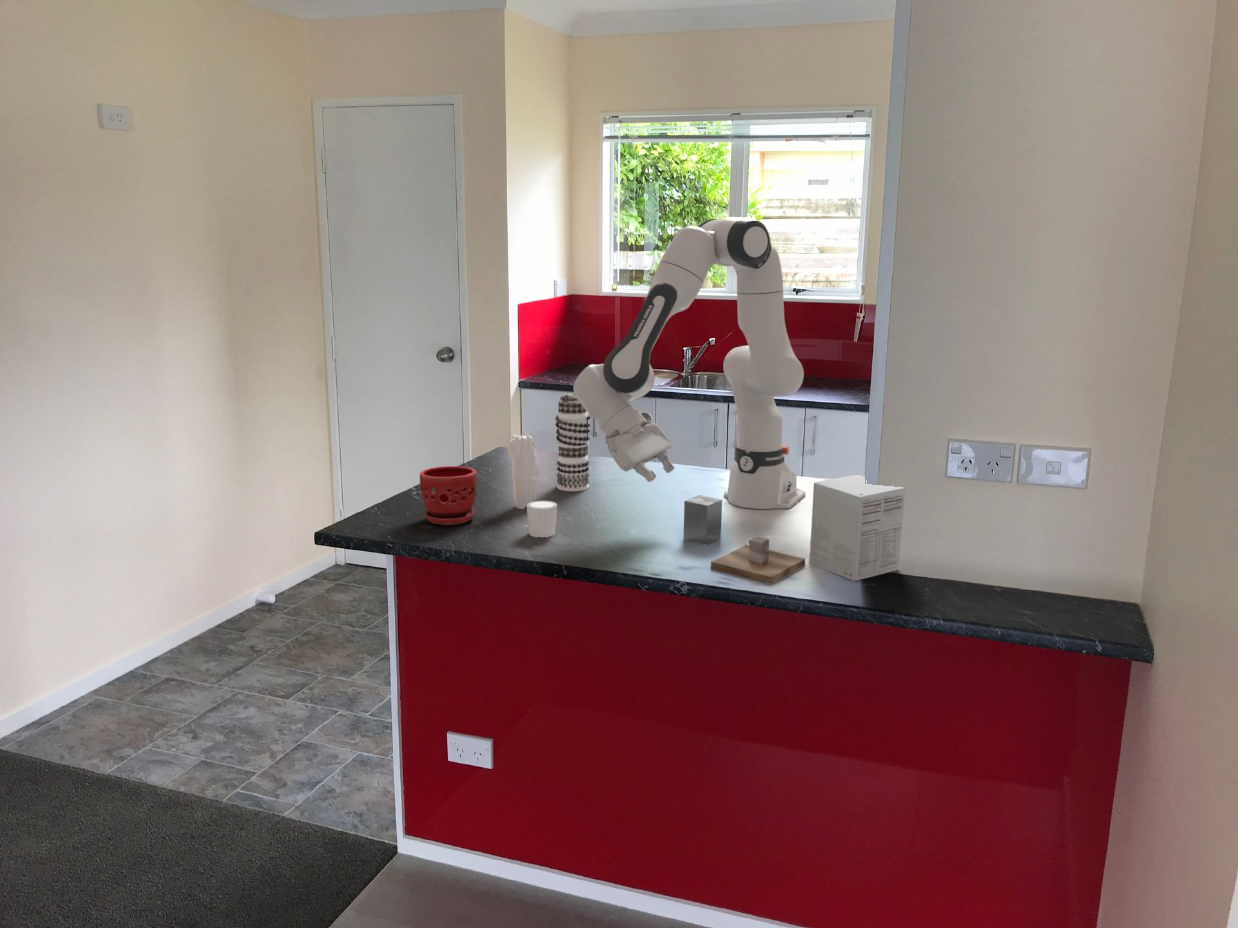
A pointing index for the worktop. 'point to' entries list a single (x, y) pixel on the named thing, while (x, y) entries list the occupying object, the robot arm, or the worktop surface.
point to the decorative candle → (572, 444)
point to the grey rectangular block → (702, 519)
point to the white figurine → (524, 469)
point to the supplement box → (856, 527)
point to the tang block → (758, 562)
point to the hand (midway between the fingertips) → (662, 475)
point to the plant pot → (448, 494)
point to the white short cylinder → (541, 518)
